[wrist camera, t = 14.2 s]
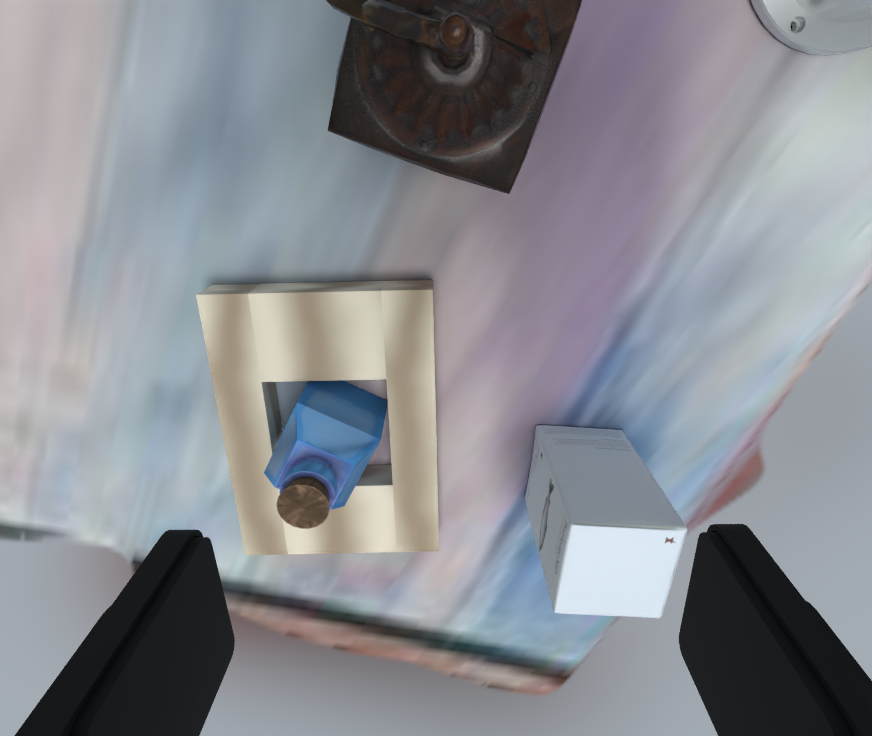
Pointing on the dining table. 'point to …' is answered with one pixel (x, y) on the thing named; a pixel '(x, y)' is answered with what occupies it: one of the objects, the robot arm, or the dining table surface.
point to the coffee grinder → (450, 80)
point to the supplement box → (601, 524)
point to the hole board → (327, 361)
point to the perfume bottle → (324, 450)
